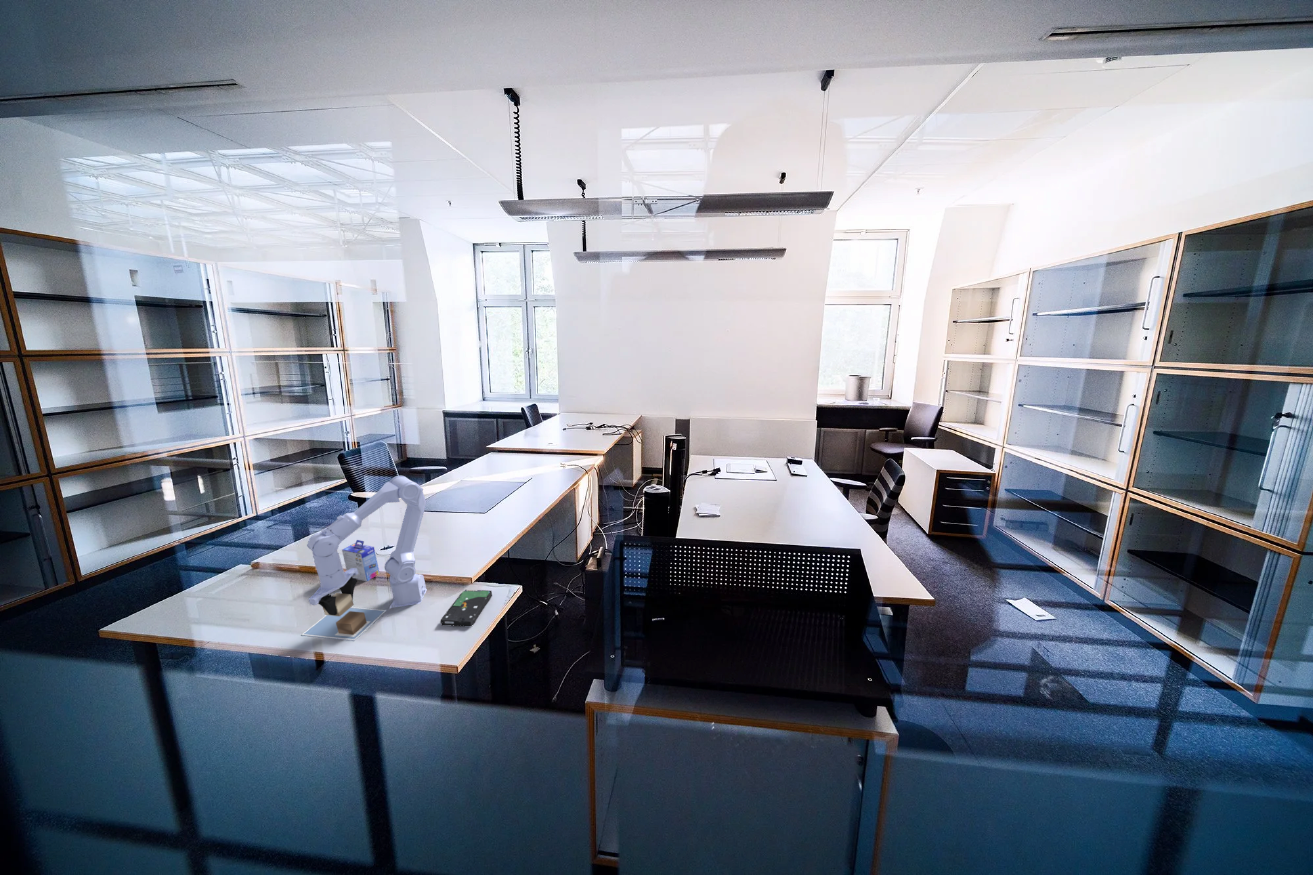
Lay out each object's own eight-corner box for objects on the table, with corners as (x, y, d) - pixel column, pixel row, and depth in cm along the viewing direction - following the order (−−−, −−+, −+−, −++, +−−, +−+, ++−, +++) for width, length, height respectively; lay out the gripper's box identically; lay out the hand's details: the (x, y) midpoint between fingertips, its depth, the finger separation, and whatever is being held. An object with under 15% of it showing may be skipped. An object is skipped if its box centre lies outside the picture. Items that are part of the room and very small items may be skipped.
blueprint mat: (387, 611, 132) (386, 609, 131) (354, 642, 119) (354, 640, 119) (338, 607, 134) (337, 605, 133) (301, 636, 121) (300, 635, 121)
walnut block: (366, 622, 126) (364, 612, 125) (353, 634, 121) (350, 624, 120) (352, 621, 127) (349, 611, 125) (338, 633, 122) (335, 622, 121)
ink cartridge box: (381, 574, 151) (373, 540, 146) (367, 583, 146) (359, 549, 141) (361, 569, 153) (353, 536, 149) (347, 578, 148) (338, 544, 144)
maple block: (353, 604, 124) (350, 594, 123) (339, 616, 119) (336, 605, 118) (339, 603, 125) (336, 592, 124) (324, 614, 120) (321, 604, 119)
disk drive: (472, 628, 126) (492, 596, 140) (471, 621, 125) (492, 589, 139) (441, 627, 126) (464, 595, 140) (439, 620, 125) (463, 588, 139)
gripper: (339, 555, 125) (349, 590, 129) (294, 585, 111) (307, 623, 115) (359, 556, 124) (369, 592, 128) (316, 587, 110) (328, 626, 115)
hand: (341, 607), depth 122 cm, fingers closed on maple block, 5 cm apart
